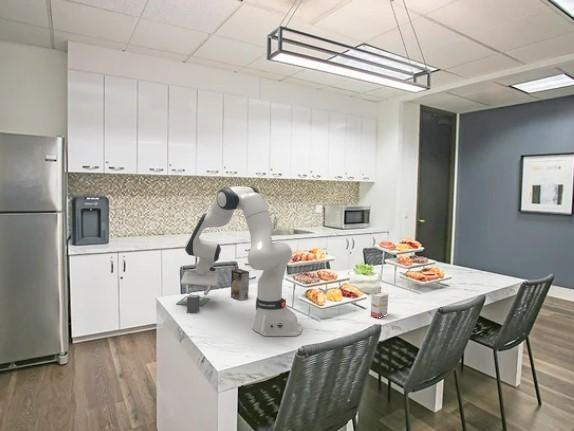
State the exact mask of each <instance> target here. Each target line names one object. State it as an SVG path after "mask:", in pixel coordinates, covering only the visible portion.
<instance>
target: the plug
mask: <svg viewBox="0 0 574 431" xmlns="http://www.w3.org/2000/svg"><path fill="white" fill-rule="evenodd" d="M200 297H201V296H200V295H199V294H191V293H190V294H188V297H187V305H186V313H187V314H193V315H194V314H198V313H199V312H200V308H201V306H200Z"/></svg>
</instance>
